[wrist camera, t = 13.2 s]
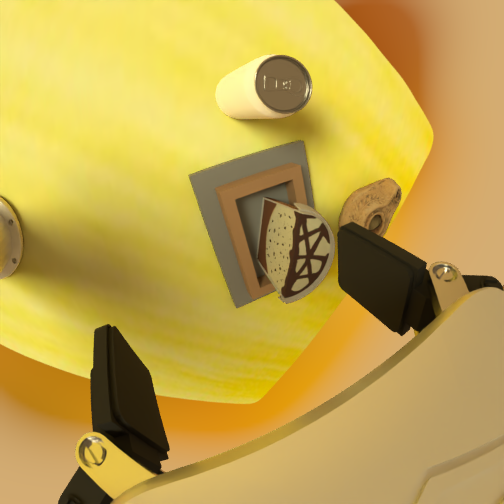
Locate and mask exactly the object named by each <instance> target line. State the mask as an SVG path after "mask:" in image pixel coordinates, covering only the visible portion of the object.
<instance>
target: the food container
mask: <svg viewBox="0 0 504 504" xmlns="http://www.w3.org/2000/svg"><path fill="white" fill-rule="evenodd" d="M294 205H295V206H296V207H294V206H292V205H289V204H286V203H284V202H281V201H278V200H276V199H273V198H269V197H263V202H262V210H261V219H260V227H259V236H258V245H257V253H256V260H257V262H258V263H259V265H260V266H261V268H262V269H263V271H264V272H265V274H266V275H267V277H268V278H269V280H270V281H271V283H272V284H273V286H274V287H275V289H276V290H277V291H278V293H279V294H280V297H278V298H279V299H280V300H281V301H282V302H285V303H286V304H287V303H291V302H294V301H297V300H299V299H301V298H303V297H305V296H306V295H308V294H309V293H311V292H312V291H313V290H314V289H315V288H316V287H317V286H318V285H319V284H320V283H321V282H322V280H323V279H324V278H325V276H326V275H327V273H328V271H329V269H330V267H331V265H332V261H333V258H334V253H335V241H334V236H333V233H332V231H331V228H330V226H329V224H328V223H327V222H326V220H325V219H324V218H323V217H322V216H321V215H320V214H319V213H318V212H317V211H316V210H315V209H313V208H311V207H310V206H308V205H304V204H301V203H294Z"/></svg>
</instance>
